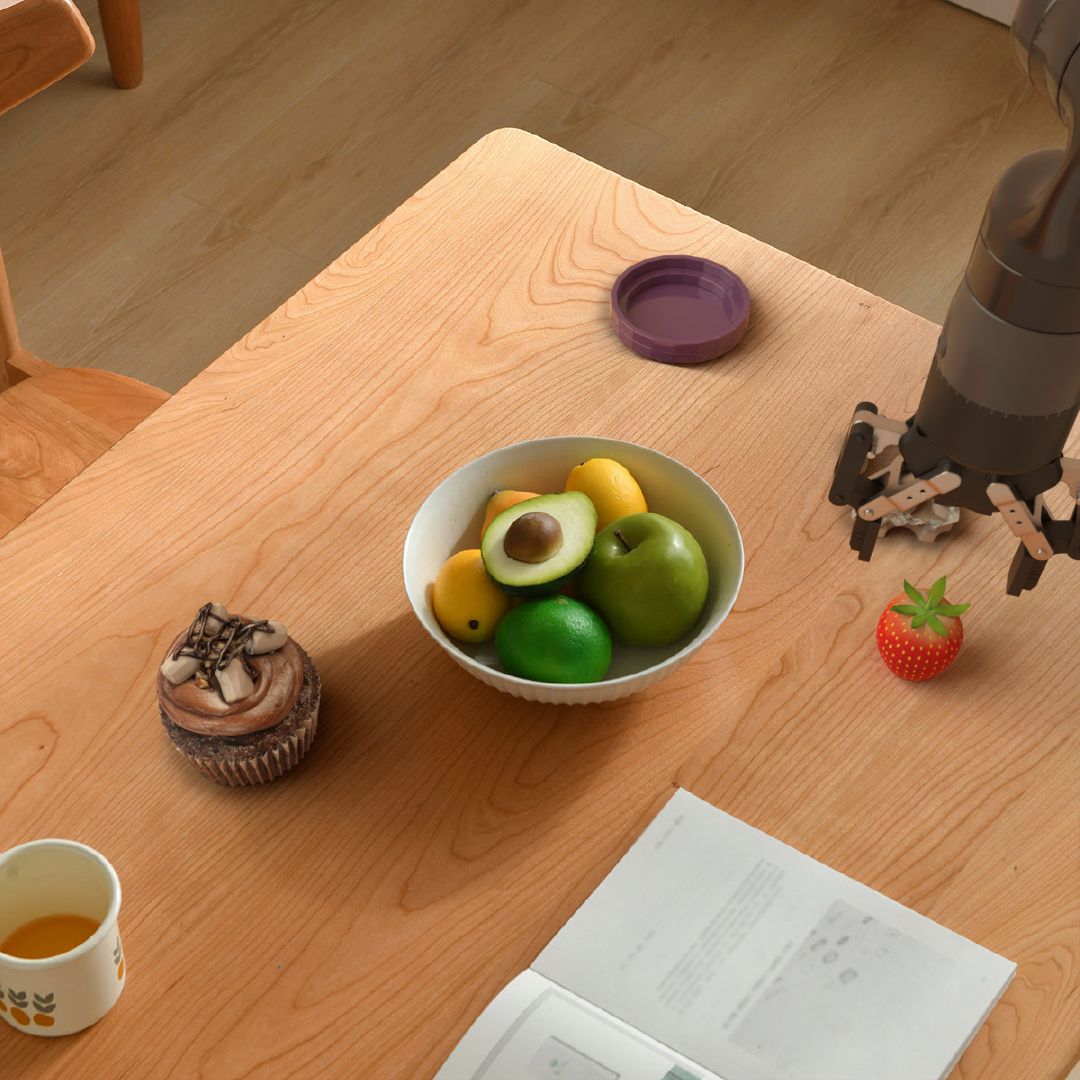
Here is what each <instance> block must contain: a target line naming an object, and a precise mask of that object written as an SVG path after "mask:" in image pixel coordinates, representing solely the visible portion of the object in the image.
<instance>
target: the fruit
mask: <svg viewBox="0 0 1080 1080" xmlns="http://www.w3.org/2000/svg"><path fill="white" fill-rule="evenodd" d="M946 586H947V574H944V575H943V576H942V577H940V578H939V579H937V580H936V581H935V582H934V583H933V584H932V586H931V587H930V589H929V588H924V587H918V588H917V587H916V588H915V587H914V586H913V585H912V584H910V583H909V582H908V580H907V579H906V578H904V580H903V589H904V591H903V592H901V593H899V594H898V595H897V596H895V597H894V598H893V599H892V600H891V601H890V602H889V603H888V604H887V605H886V607H885V608H884V610H883V612H882V613H881V615H880V618H879V621H878V623H877V627H876V634H875V638H876V645H877V649H878V652H879V654H880V657H881V658H882V660H883V663H884V664H885V666H886V668H887V669H889V670H890V671H891V672H892V673H893V674H894V675H895V676H897V677H898V678H900V679H903V680H906V681H911V682H920V681H925V680H928V679H931V678H933V677H935V676H938V675H939V674H941V673H943V672H944V671H945V670H946V669H947V668H949V667H950V666H951V665H952V663H953V662H954V661H955V659H956V658H957V656H958V655H959V653H960V650H961V647H962V644H963V640H964V625H963V621H962V619H961V617H960V616H962V615H963V614H964V613H965V612H966V611H967V610H968V609H969V608H970V607H971V605H972V602H970V603H957V604H952V603H951V602H950V601H949V600H948V599H946V598H945V597H944V596H945V593H946Z"/></svg>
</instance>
